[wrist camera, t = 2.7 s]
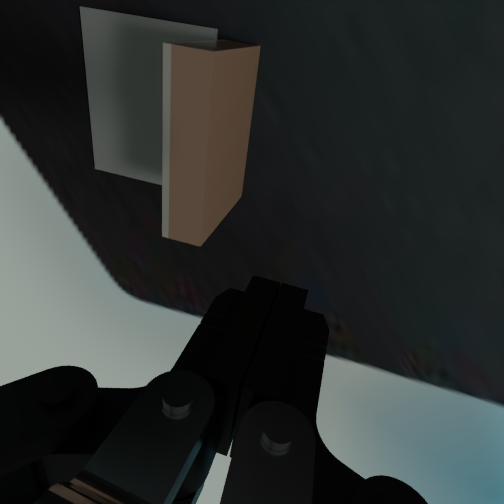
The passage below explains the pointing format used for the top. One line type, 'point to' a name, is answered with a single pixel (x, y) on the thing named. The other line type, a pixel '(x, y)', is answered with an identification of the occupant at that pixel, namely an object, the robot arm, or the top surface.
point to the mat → (129, 88)
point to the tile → (204, 133)
